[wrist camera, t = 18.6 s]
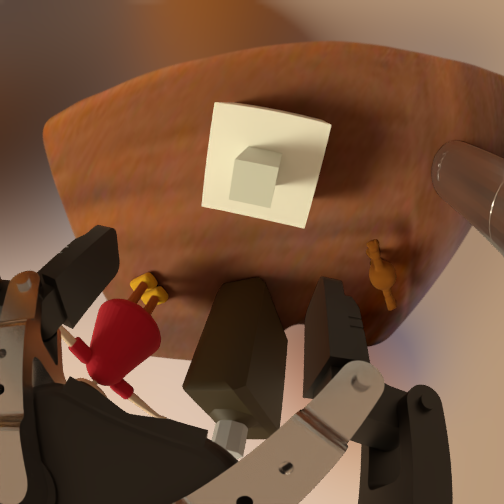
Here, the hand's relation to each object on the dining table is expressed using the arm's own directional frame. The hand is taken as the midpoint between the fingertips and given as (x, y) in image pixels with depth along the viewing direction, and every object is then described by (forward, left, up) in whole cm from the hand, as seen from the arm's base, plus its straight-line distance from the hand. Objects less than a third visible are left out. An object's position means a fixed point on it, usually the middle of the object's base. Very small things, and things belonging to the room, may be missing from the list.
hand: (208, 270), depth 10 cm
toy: (+15, +26, -26) cm, 40 cm away
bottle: (-3, +27, -26) cm, 38 cm away
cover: (0, 0, -26) cm, 26 cm away
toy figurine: (-18, +11, -26) cm, 34 cm away
